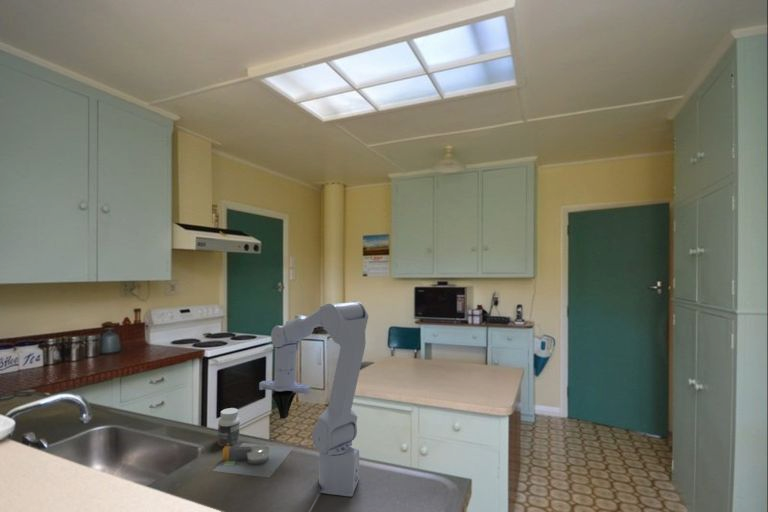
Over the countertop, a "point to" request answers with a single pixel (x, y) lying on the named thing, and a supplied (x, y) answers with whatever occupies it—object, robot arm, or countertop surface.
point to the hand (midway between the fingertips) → (284, 417)
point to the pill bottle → (228, 427)
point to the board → (262, 470)
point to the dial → (247, 454)
